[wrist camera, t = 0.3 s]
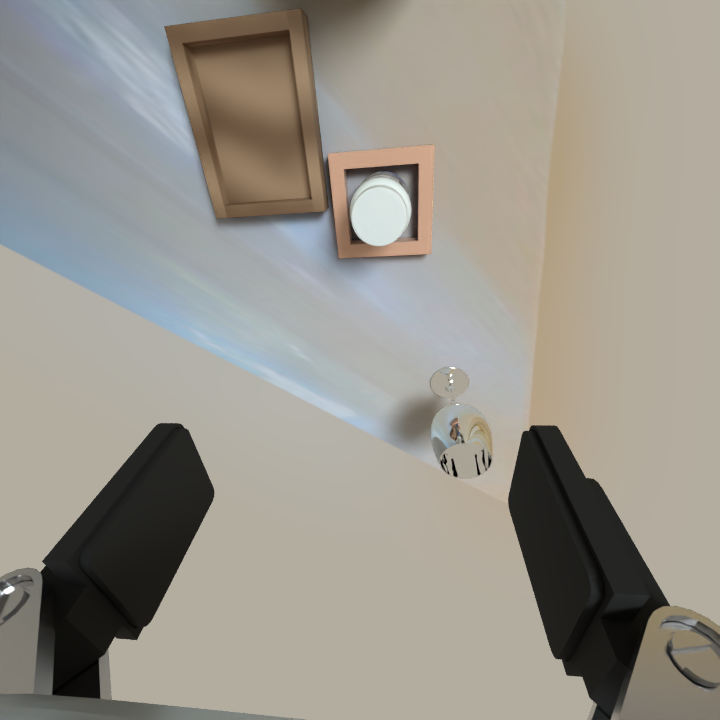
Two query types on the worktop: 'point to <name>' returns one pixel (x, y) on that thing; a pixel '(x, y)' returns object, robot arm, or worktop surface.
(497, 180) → the worktop surface
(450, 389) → the wineglass
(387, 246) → the frame
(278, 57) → the tray
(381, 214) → the pill bottle
